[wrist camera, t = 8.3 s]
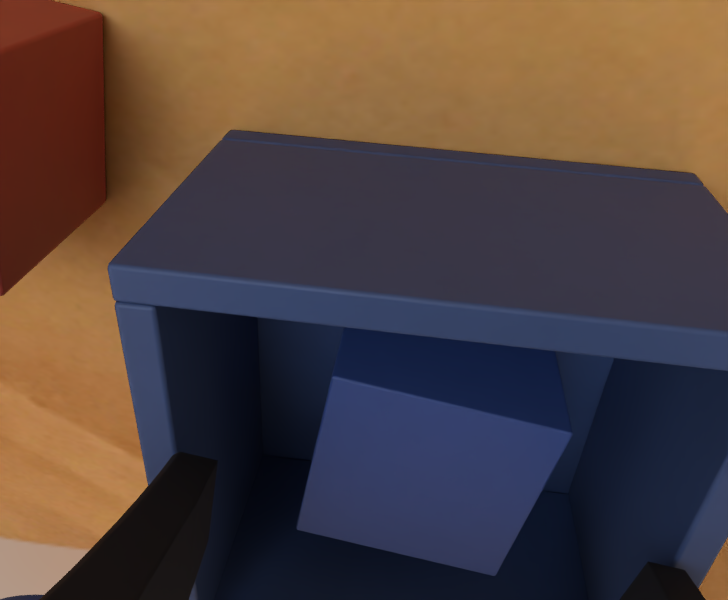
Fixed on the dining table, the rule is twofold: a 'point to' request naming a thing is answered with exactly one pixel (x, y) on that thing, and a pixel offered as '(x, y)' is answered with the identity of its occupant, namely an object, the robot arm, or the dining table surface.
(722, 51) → the dining table surface
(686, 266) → the blue bin
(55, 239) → the red block
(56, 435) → the dining table surface
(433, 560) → the blue block
